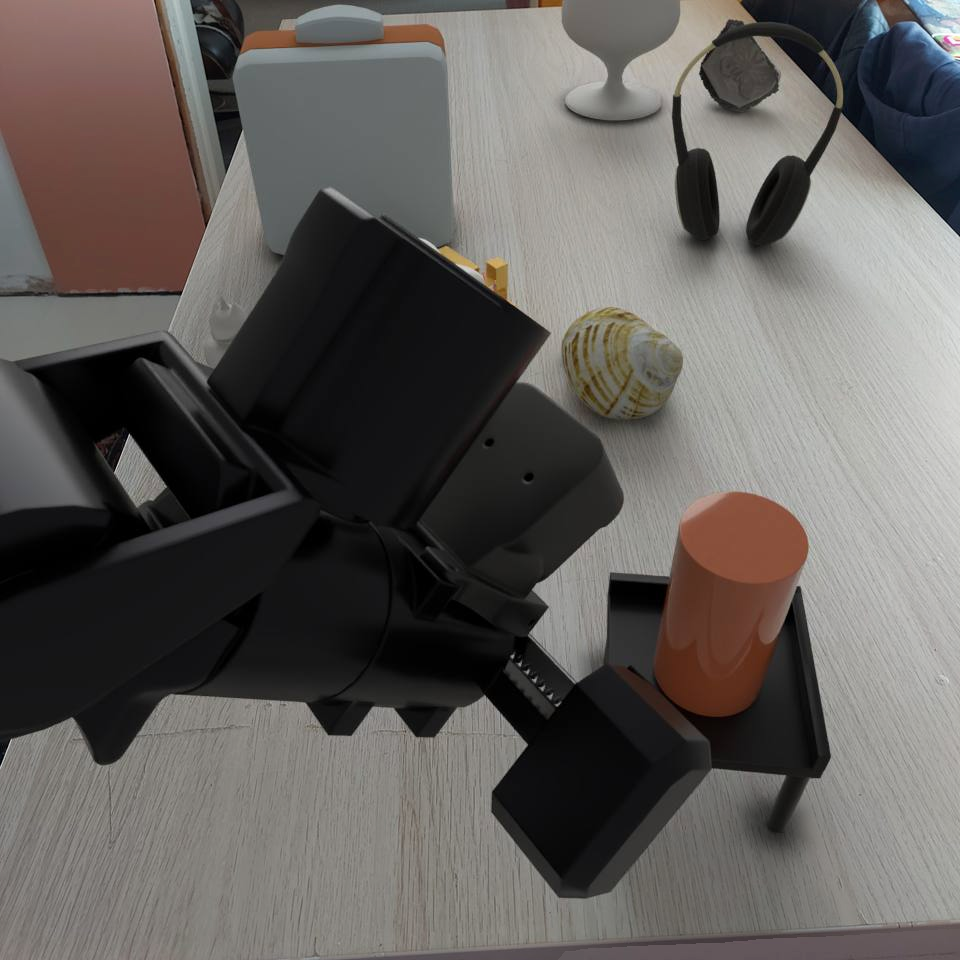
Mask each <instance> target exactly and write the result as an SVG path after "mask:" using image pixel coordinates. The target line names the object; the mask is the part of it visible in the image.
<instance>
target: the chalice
mask: <svg viewBox="0 0 960 960" xmlns="http://www.w3.org/2000/svg"><path fill="white" fill-rule="evenodd" d="M561 4H562V5H561V25H562V27H563V30H564V31H565V33H566V35H567V37H568V38H569V39H570V40H571V41H573V42H574V44H576V45H577V46H578V47H580V48H582V49H584V50H585V51H587V52H589V53H590V54H592V55H594V56H595V57H597V58H598V59H600V61H601V62H602V63H603V65H604V66H605V68H606V72H607V78H606V81H597V82H589V83H586V84H582V85H580V86H577V87H574V88H573V89H572V90H570V91H569V92H568V93H567V94H566V95H565V97H564V103H565V105H566V107H567V108H569V109H570V110H571V111H573V112H574V113H576V114H578V115H581V116H583V117H586V118H591V119H596V120H603V121H628V120H629V121H630V120H637V119H641V118H644V117H647V116H650V115H652V114H654V113H656V112H657V111H658V110H659V109H660V108H661V107H662V99H661V97H660V96H659V95H658V94H657V92H655V91H654V90H652V89H650V88H648V87H646V86H643V85H641V84H637V83H631V82H627V81H623V75H624V72H625V69H626V68H627V67H628V65H629V64H630V63H631V62H632V61H633V60H636V59H637V58H639V57H641V56H643V55H644V54H647V53H649V52H651V51H653V50H655V49H657V48H659V47H661V46H662V45H663V44H665V43H666V42H668V41H669V40H670V38H671V37H672V36H674V33H675V32H676V29H677V27H678V25H679V22H680V17H681V0H562V3H561Z"/></svg>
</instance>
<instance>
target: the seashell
mask: <svg viewBox="0 0 960 960" xmlns="http://www.w3.org/2000/svg"><path fill="white" fill-rule="evenodd" d="M560 353H561V354H560V355H561V358H562V363H563V368H564V372H565V375H566V378H567V382H568V384H569V386H570V388H571V389H572V391H573V392H574V394H575V395H576V396H577V398H578V399H579V400H580V401H581V402H582V403H583V404H584V405H585V406H586V407H587V408H588V409H590V410H591V411H593V412H594V413H596V414H597V415H599V416H601V417H602V418H608V419H609V418H610V419H613V420H619V421H621V420H622V421H624V420H636V419H642V418H644V417H645V418H646V417H648V416H650V415H652V414H654V413H656V412H657V411H659V410H660V409H661V408H662V407H663V406H664V405H665V404H666V403H667V401H668V399H669V398H670V397H671V395H672V393H673V392H674V389H675V386H676V383H677V381H678V378H679V376H680V375H681V373H682V370H683V366H684V356H683V353H682V350H681V349H680V348H679V347H678V346H677V345H676V344H675V343H674V342H673V341H672V340H671V339H670V338H669V337H667V336H666V335H664V334H663V333H661V332H660V331H658V330H656V329H654V328H653V327H652V326H651V325H650V324H649V323H647V322H646V321H645V320H644V319H642V318H641V317H639V316H638V315H636V314H635V313H632V312H631V311H629V310H626V309H623V308H619V307H613V306H606V307H605V306H604V307H598V308H596V309H593V310H590V311H588V312H586V313H584V314H582V315H581V316H580V317H578V318H576V319H575V320H574V321H573V322H572V323H571V325H570V326H569V327H568V328H567V331H566V333H565V334H564V336H563V338H562V341H561V349H560Z"/></svg>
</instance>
